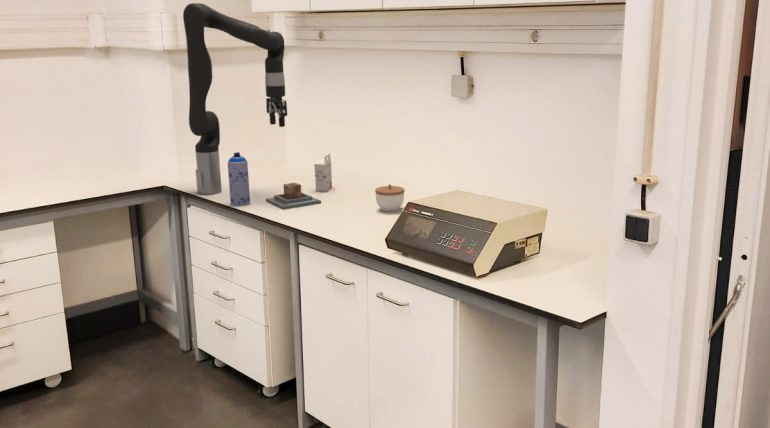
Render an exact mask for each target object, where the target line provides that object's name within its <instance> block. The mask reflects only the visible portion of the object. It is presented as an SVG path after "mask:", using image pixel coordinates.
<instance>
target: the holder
mask: <svg viewBox="0 0 770 428" xmlns="http://www.w3.org/2000/svg"><path fill="white" fill-rule="evenodd" d="M301 195H302V198H296V199H290V200H287V199H284V193H280V194H275V195H273V197H268V198H265V202H267V203H269V204H271V205H273V206H274V207H278V208H279V209H282V210H289V209H294V208H295V209H296V208H300V207H308V206H311V205H318V204H322V200H321V199H318V198H315V197H313V196H312V195H309V194H306V193H304V192H302V191H301Z"/></svg>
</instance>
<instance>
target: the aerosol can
mask: <svg viewBox="0 0 770 428" xmlns="http://www.w3.org/2000/svg"><path fill="white" fill-rule="evenodd" d="M248 163H249V162H248V160H247V159H246V158H245V157H244V156H242V155H241V153H240V152H237V151H236V152H233V156H232V157H230V158H229V159H228V160H227V171H228V172H227V174H228V185H229V186H228V187H229V197H230V202H229V205H230V206H232V207H245V206H246V207H247V206H249V205H251V203H252V202H251V194H250V178H249V167H248V166H249V165H248Z"/></svg>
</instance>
